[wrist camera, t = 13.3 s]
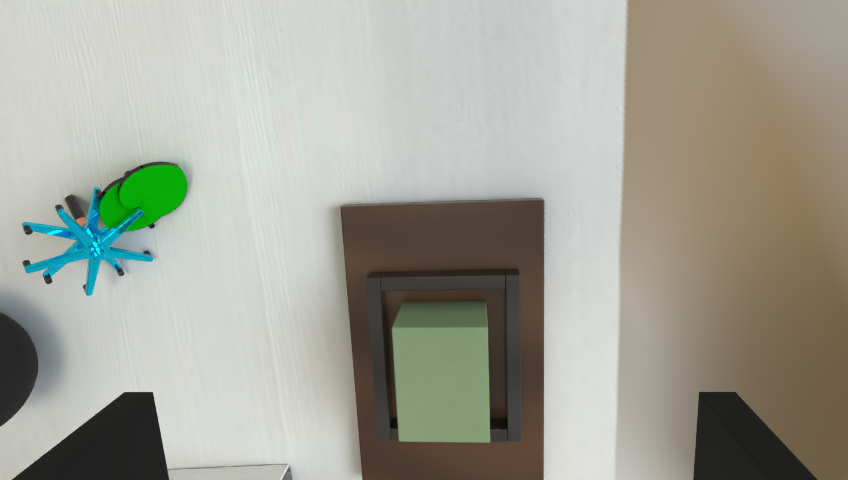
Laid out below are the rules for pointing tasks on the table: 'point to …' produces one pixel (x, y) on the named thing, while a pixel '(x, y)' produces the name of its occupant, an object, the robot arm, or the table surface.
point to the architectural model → (233, 473)
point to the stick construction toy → (112, 219)
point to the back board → (449, 281)
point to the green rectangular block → (442, 371)
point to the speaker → (15, 367)
